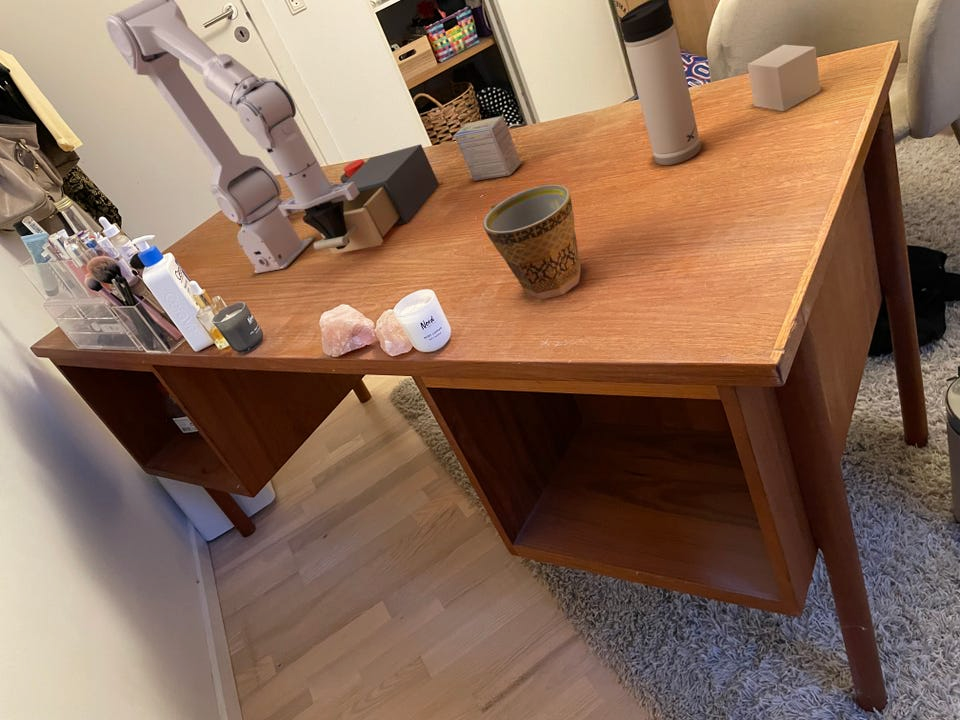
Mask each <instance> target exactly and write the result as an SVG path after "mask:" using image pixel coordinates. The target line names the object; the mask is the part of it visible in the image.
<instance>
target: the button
mask: <svg viewBox="0 0 960 720" xmlns="http://www.w3.org/2000/svg"><path fill="white" fill-rule="evenodd" d="M365 162H366V161H364V159H356V160H354V161H353V162H350V163H349V164H347V165H346V166H345V167H343V171H344V173H346V175H347V177H351V176H352V175H353V174H354V173H355V172H356V171H357V170H359V169H360V168H361V167H362V166H363V165H364V164H365Z"/></svg>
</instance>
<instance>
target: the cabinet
mask: <svg viewBox="0 0 960 720" xmlns="http://www.w3.org/2000/svg"><path fill="white" fill-rule="evenodd" d="M365 162H366V163H365V164H364V165H363V166H362V167H361V168H360V169H359V170H357V171H356V172H355V173H354V174H353V175H352V176H351V177H350V178H349V179H348V180H347V181H346V182H345V183H351V182H354V183H355V185H356V187H357V189H358V191H363V190H367V189H371V188H375V187H379V186H384V185H385V187H386V189H387V191H388V193H389V194H390V196H391V198H392V200H393V202H394V204H395V206H396V208H397V210H398V212H399V214H400V218H399V219H398V220H397V221H396V222H395V223H394V225H393V226H392V227H394V226H395V227H396V226H400V225H405V224H408V223H409V222H410V221H411V219H412V218H413V217H414V216H415V215H416V213H417V212H418V211H419V210H420V208H422V206H423V205H424V204H425V203H426V201H427V200H428V199H429V198H430V197H431V195H432V194H434V192H435V191H436V190H437V188H438V187H439V186H440V183H439V180H438V179H437V176H436V174H435V171H434V169H433V167H432V165H431V163H430V161H429V158H428V157H427V155H426V152H425V150H424V148H423V145H422V144H421V143H420V144H417V145H416V144H415V145H413V146H409V147H405V148H402V149H398V150H395V151H390V152H387V153H383V154H379V155H376V156H372V157H370V158H369V159H367V161H365Z"/></svg>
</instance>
